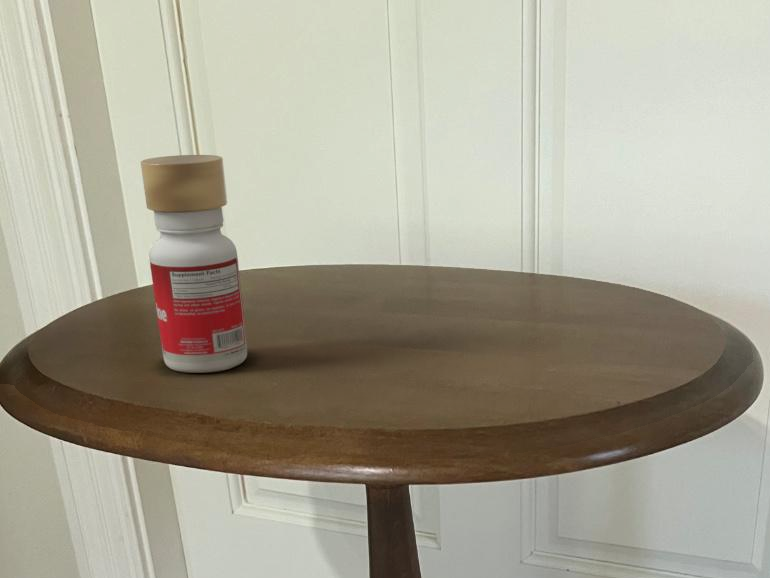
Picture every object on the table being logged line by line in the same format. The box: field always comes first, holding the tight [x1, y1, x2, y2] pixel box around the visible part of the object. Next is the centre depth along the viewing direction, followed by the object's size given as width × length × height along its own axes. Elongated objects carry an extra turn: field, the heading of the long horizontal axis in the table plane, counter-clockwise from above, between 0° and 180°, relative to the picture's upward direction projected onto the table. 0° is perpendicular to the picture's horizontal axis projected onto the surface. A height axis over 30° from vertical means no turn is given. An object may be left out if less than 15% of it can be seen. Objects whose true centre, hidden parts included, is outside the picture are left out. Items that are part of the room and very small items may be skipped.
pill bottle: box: [148, 206, 248, 374], centre depth 78 cm, size 6×6×11 cm
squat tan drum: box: [140, 154, 228, 212], centre depth 74 cm, size 6×6×3 cm
